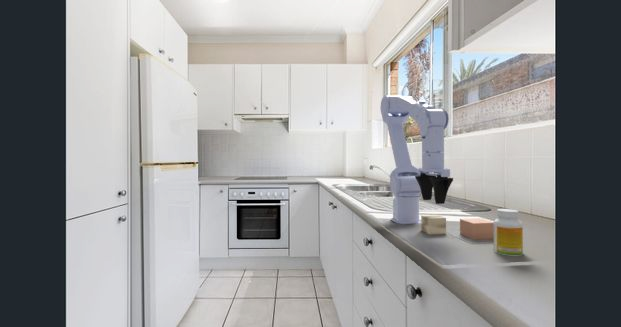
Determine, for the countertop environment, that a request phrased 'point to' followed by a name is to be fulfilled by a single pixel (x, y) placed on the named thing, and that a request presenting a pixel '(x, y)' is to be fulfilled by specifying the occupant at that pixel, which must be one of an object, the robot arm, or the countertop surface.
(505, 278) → the countertop surface
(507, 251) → the supplement bottle
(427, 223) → the birch block
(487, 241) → the baseplate
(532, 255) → the countertop surface
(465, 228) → the base block
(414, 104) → the robot arm
